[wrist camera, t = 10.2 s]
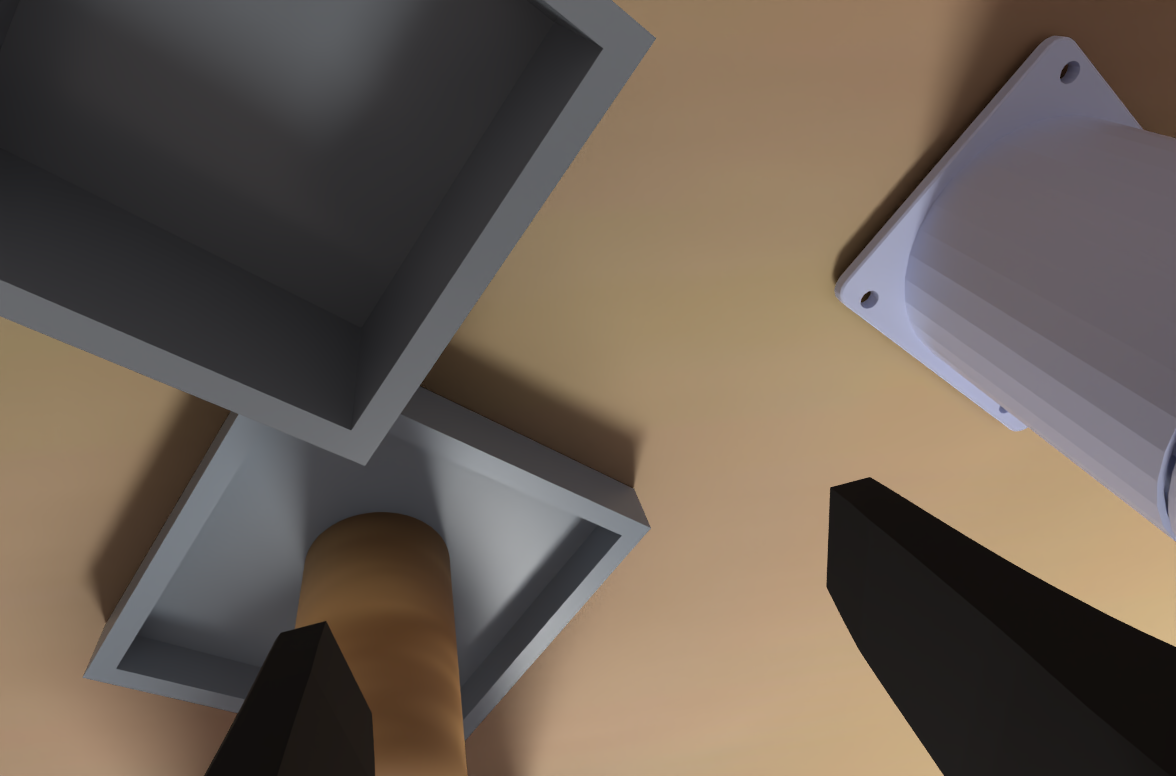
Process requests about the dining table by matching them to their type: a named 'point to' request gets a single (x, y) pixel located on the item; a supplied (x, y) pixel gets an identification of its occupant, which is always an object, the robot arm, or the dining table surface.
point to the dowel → (393, 635)
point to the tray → (344, 489)
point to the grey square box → (286, 184)
